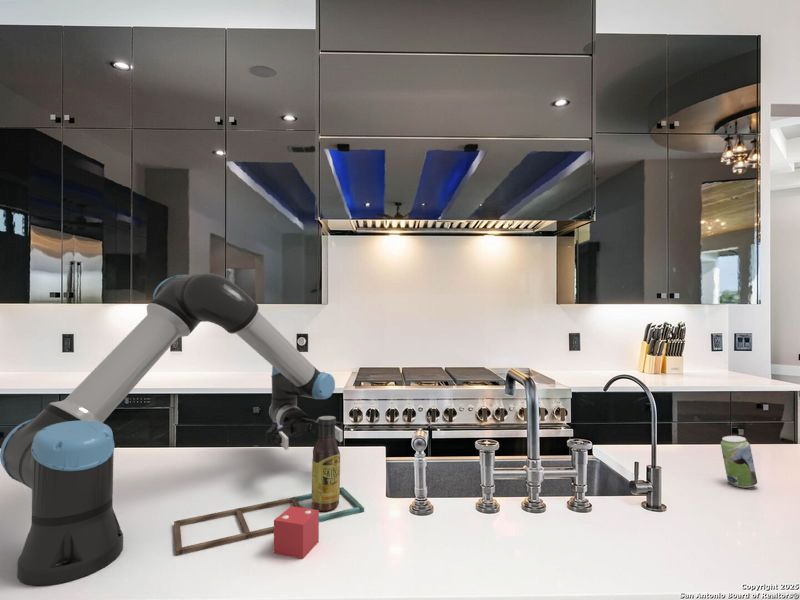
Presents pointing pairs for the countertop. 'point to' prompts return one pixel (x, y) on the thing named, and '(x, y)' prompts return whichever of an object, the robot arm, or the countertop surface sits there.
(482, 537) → the countertop surface
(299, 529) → the red die
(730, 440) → the beverage can
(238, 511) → the brown flat rectangular frame
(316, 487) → the sauce bottle
